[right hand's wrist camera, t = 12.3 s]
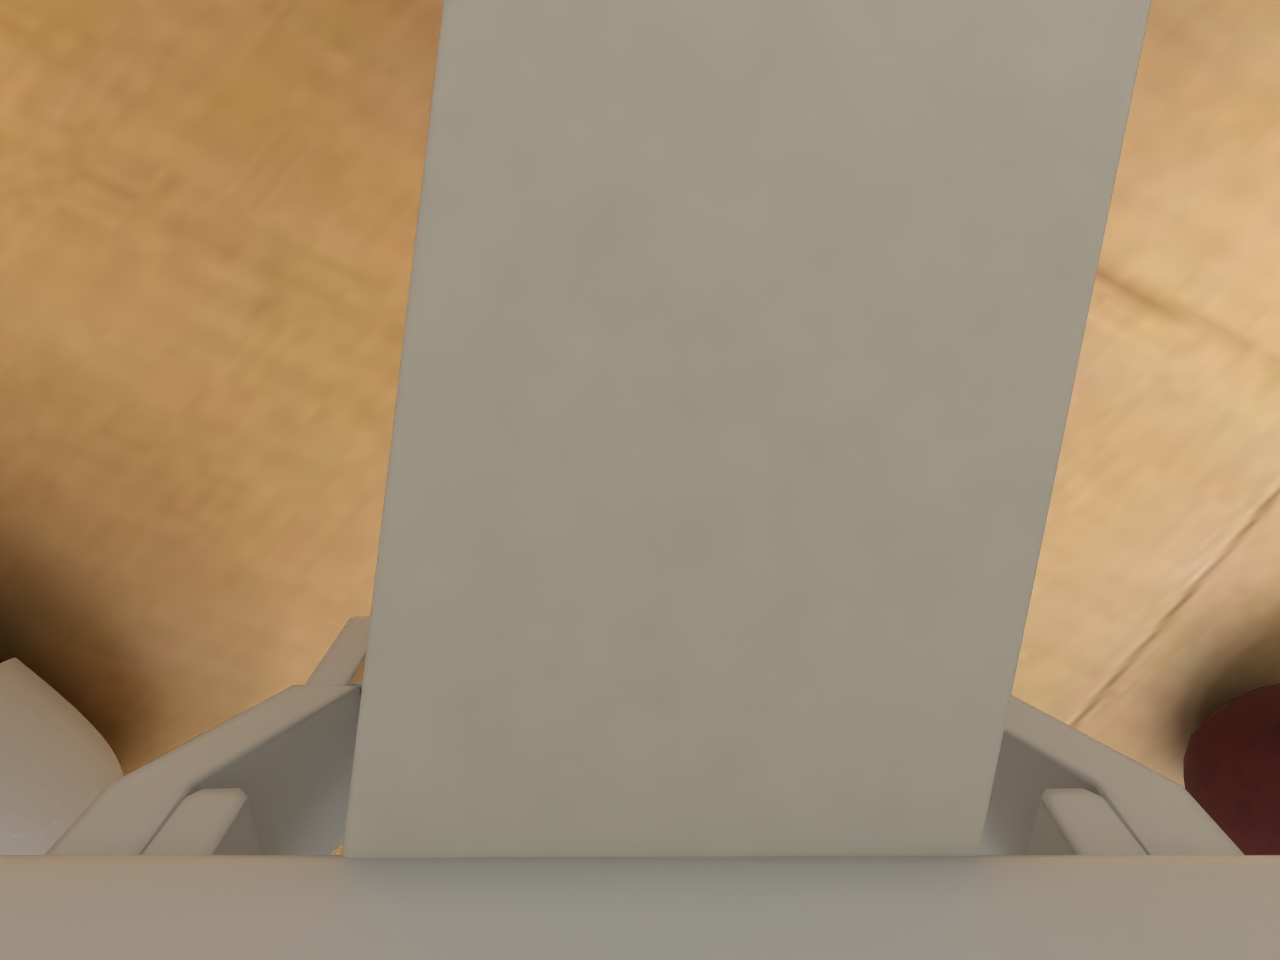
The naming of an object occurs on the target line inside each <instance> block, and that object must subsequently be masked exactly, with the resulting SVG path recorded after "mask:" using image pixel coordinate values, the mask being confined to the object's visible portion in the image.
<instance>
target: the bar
mask: <svg viewBox="0 0 1280 960" xmlns="http://www.w3.org/2000/svg"><path fill="white" fill-rule="evenodd" d="M1150 4H1151V0H444V2H443V10H442V18H441V27H440V35H439V44H438V52H437V61H436V69H435V77H434V86H433V94H432V103H431V111H430V120H429V128H428V136H427V145H426V153H425V162H424V170H423V179H422V187H421V195H420V204H419V212H418V221H417V229H416V238H415V246H414V254H413V263H412V271H411V280H410V288H409V297H408V305H407V313H406V322H405V330H404V339H403V347H402V356H401V364H400V372H399V381H398V389H397V398H396V406H395V414H394V423H393V431H392V440H391V448H390V457H389V465H388V473H387V482H386V490H385V499H384V507H383V516H382V524H381V532H380V541H379V549H378V558H377V566H376V575H375V583H374V591H373V600H372V608H371V617H370V625H369V634H368V642H367V650H366V659H365V667H364V676H363V684H362V693H361V701H360V709H359V718H358V726H357V735H356V743H355V752H354V760H353V768H352V777H351V785H350V794H349V802H348V811H347V819H346V827H345V836H344V844H343V853H342V856H343V857H344V858H498V857H889V856H978V855H979V850H980V846H981V841H982V836H983V831H984V826H985V821H986V816H987V811H988V806H989V801H990V796H991V791H992V786H993V781H994V776H995V771H996V766H997V761H998V756H999V752H1000V747H1001V742H1002V737H1003V732H1004V727H1005V722H1006V717H1007V712H1008V707H1009V702H1010V697H1011V692H1012V687H1013V682H1014V677H1015V672H1016V667H1017V662H1018V657H1019V653H1020V648H1021V643H1022V638H1023V633H1024V628H1025V623H1026V618H1027V613H1028V608H1029V603H1030V598H1031V593H1032V588H1033V583H1034V578H1035V573H1036V568H1037V563H1038V558H1039V554H1040V549H1041V544H1042V539H1043V534H1044V529H1045V524H1046V519H1047V514H1048V509H1049V504H1050V499H1051V494H1052V489H1053V484H1054V479H1055V474H1056V469H1057V464H1058V459H1059V455H1060V450H1061V445H1062V440H1063V435H1064V430H1065V425H1066V420H1067V415H1068V410H1069V405H1070V400H1071V395H1072V390H1073V385H1074V380H1075V375H1076V370H1077V365H1078V360H1079V356H1080V351H1081V346H1082V341H1083V336H1084V331H1085V326H1086V321H1087V316H1088V311H1089V306H1090V301H1091V296H1092V291H1093V286H1094V281H1095V276H1096V271H1097V266H1098V261H1099V257H1100V252H1101V247H1102V242H1103V237H1104V232H1105V227H1106V222H1107V217H1108V212H1109V207H1110V202H1111V197H1112V192H1113V187H1114V182H1115V177H1116V172H1117V167H1118V163H1119V158H1120V153H1121V148H1122V143H1123V138H1124V133H1125V128H1126V123H1127V118H1128V113H1129V108H1130V103H1131V98H1132V93H1133V88H1134V83H1135V78H1136V73H1137V68H1138V64H1139V59H1140V54H1141V49H1142V44H1143V39H1144V34H1145V29H1146V24H1147V19H1148V14H1149V9H1150Z"/></svg>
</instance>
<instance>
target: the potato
mask: <svg viewBox="0 0 1280 960" xmlns="http://www.w3.org/2000/svg"><path fill="white" fill-rule="evenodd" d="M1184 782H1185V789H1186V791H1187V792H1188V793H1189V794H1190V795H1191V796H1192V797H1193V798H1194V799H1195V800H1196V802H1197V803H1198V804H1199V805H1200V806H1201V807H1202V808H1203V809H1204V810H1205V812H1206V813H1207V814H1208V815H1209V816H1210V817H1211V818H1212V819H1213V820H1214V822H1215V823H1216V824H1217V825H1218V826H1219V827H1220V828H1221V829H1222V830H1223V831H1224V833H1225V834H1226V835H1227V836H1228V837H1229V838H1230V839H1231V840H1232V841H1233V843H1234V844H1235V845H1236V846H1237V847H1238V848H1239V849H1240V850H1241V851H1242V853H1243V854H1244V855H1280V684H1277V685H1272V686H1267V687H1262V688H1258V689H1256V690H1253V691H1250V692H1247V693H1245V694H1243V695H1241V696H1238V697H1236V698H1234V699H1232V700H1230V701H1228V702H1227V703H1225V704H1223V705H1221V706H1220V707H1218V708H1216V709H1215V710H1214V711H1213V712H1212V713H1211V714H1210V715H1209V716H1208V717H1207V718H1206V720H1205V721H1204V722H1203V723H1202V724H1201V725H1200V726H1199V727H1198V728H1197V730H1196V731H1195V732H1194V733H1193V734H1192V735H1191V738H1190V741H1189V744H1188V747H1187V750H1186V753H1185V756H1184Z"/></svg>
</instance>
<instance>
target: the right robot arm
mask: <svg viewBox="0 0 1280 960" xmlns="http://www.w3.org/2000/svg"><path fill="white" fill-rule="evenodd" d="M370 617H371V616H357V617H354V618H351V619H350V620H349V621H348V622H347V623H346V625H345V626H344V628H343V629H342V631H341V632H340V634H339V635H338V637H337V638H336V640H335V641H334V643H333V644H332V646H331V647H330V648H329V650H328V651H327V653H326V654H325V656H324V657H323V659H322V660H321V662H320V663H319V665H318V666H317V668H316V669H315V671H314V672H313V674H312V675H311V676H310V678H309V679H308V681H307V682H306V684H305V685H293V686H291V687H289V688H287V689H286V690H284V691H282V692H280V693H278V694H276V695H274V696H272V697H271V698H269V699H267V700H265V701H263V702H261V703H259V704H258V705H256V706H254V707H252V708H250V709H248V710H246V711H244V712H243V713H241V714H239V715H237V716H235V717H233V718H231V719H230V720H228V721H226V722H224V723H222V724H220V725H218V726H216V727H215V728H213V729H211V730H209V731H207V732H205V733H203V734H202V735H200V736H198V737H196V738H194V739H192V740H190V741H188V742H187V743H185V744H183V745H181V746H179V747H177V748H175V749H174V750H172V751H170V752H168V753H166V754H164V755H162V756H160V757H159V758H157V759H155V760H153V761H151V762H149V763H147V764H146V765H144V766H142V767H140V768H138V769H136V770H134V771H132V772H131V773H129V774H127V775H125V776H123V777H121V778H119V779H118V780H116V781H114V782H112V783H110V784H108V785H107V786H106V787H105V788H104V789H103V790H102V791H101V792H100V793H99V794H98V796H97V797H96V798H95V799H94V800H93V801H92V802H91V803H90V805H89V806H88V807H87V808H86V809H85V810H84V811H83V812H82V813H81V815H80V816H79V817H78V818H77V819H76V820H75V821H74V822H73V823H72V825H71V826H70V827H69V828H68V829H67V830H66V831H65V832H64V834H63V835H62V836H61V837H60V838H59V839H58V840H57V841H56V842H55V844H54V845H53V846H52V847H51V848H50V849H49V850H48V851H47V853H46V854H45V855H0V960H1280V855H1244V854H1243V853H1242V851H1241V850H1240V849H1239V848H1238V847H1237V846H1236V845H1235V844H1234V843H1233V841H1232V840H1231V839H1230V838H1229V837H1228V836H1227V835H1226V834H1225V833H1224V831H1223V830H1222V829H1221V828H1220V827H1219V826H1218V825H1217V824H1216V823H1215V822H1214V820H1213V819H1212V818H1211V817H1210V816H1209V815H1208V814H1207V813H1206V812H1205V810H1204V809H1203V808H1202V807H1201V806H1200V805H1199V804H1198V803H1197V802H1196V800H1195V799H1194V798H1193V797H1192V796H1191V795H1190V794H1189V793H1188V792H1187V791H1186V789H1185V788H1184V787H1183V786H1181V785H1179V784H1177V783H1175V782H1174V781H1172V780H1170V779H1168V778H1166V777H1164V776H1162V775H1160V774H1159V773H1157V772H1155V771H1153V770H1151V769H1149V768H1147V767H1145V766H1144V765H1142V764H1140V763H1138V762H1136V761H1134V760H1132V759H1130V758H1129V757H1127V756H1125V755H1123V754H1121V753H1119V752H1117V751H1115V750H1114V749H1112V748H1110V747H1108V746H1106V745H1104V744H1102V743H1100V742H1099V741H1097V740H1095V739H1093V738H1091V737H1089V736H1087V735H1085V734H1084V733H1082V732H1080V731H1078V730H1076V729H1074V728H1072V727H1070V726H1069V725H1067V724H1065V723H1063V722H1061V721H1059V720H1057V719H1055V718H1054V717H1052V716H1050V715H1048V714H1046V713H1044V712H1042V711H1040V710H1039V709H1037V708H1035V707H1033V706H1031V705H1029V704H1027V703H1025V702H1024V701H1022V700H1020V699H1018V698H1016V697H1014V696H1012V695H1011V697H1010V702H1009V707H1008V712H1007V717H1006V722H1005V727H1004V732H1003V737H1002V742H1001V747H1000V752H999V756H998V761H997V766H996V771H995V776H994V781H993V786H992V791H991V796H990V801H989V806H988V811H987V816H986V821H985V826H984V831H983V836H982V841H981V846H980V850H979V855H978V856H889V857H498V858H344V857H343V856H342V855H330V854H332V853H333V852H334V851H335V850H336V849H337V848H338V847H339V846H340V845H341V844H342V843H343V842H344V836H345V827H346V819H347V811H348V802H349V794H350V785H351V777H352V768H353V760H354V752H355V743H356V735H357V726H358V718H359V709H360V701H361V693H362V684H363V676H364V667H365V659H366V650H367V642H368V634H369V625H370Z"/></svg>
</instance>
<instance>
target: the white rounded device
mask: <svg viewBox="0 0 1280 960" xmlns="http://www.w3.org/2000/svg"><path fill="white" fill-rule="evenodd" d="M123 776H124V775H123V771H122V768H121V766H120V763H119V761H118V759H117V757H116V755H115V754H114V752H113V750H112V749H111V747H110V746H109V744H108V743H107V742H106V740H105V739H104V738H103V736H102V735H101V734H100V733H99V732H98V731H97V730H96V728H95V727H94V726H93V725H92V724H91V723H90V722H89V721H88V720H87V719H86V718H85V717H84V716H83V715H82V714H81V713H80V712H79V711H78V710H77V709H76V708H75V707H74V706H72V705H71V704H70V703H69V702H68V701H67V700H66V699H65V698H63V697H62V696H61V695H60V694H59V693H58V692H57V691H56V690H54V689H53V688H52V687H51V686H50V685H49V684H47V683H46V682H45V681H44V680H43V679H41V678H40V677H39V676H38V675H37V674H35V673H34V672H33V671H32V670H30V669H29V668H28V667H27V666H26V665H24V664H23V663H22V662H21V661H19V660H18V659H17V658H11V659H9V660H6V661H4V662H2V663H0V855H45V854H46V853H47V851H48V850H49V849H50V848H51V847H52V846H53V845H54V844H55V842H56V841H57V840H58V839H59V838H60V837H61V836H62V835H63V834H64V832H65V831H66V830H67V829H68V828H69V827H70V826H71V825H72V823H73V822H74V821H75V820H76V819H77V818H78V817H79V816H80V815H81V813H82V812H83V811H84V810H85V809H86V808H87V807H88V806H89V805H90V803H91V802H92V801H93V800H94V799H95V798H96V797H97V796H98V794H99V793H100V792H101V791H102V790H103V789H104V788H105V787H106V786H107V785H108V784H110V783H112V782H114V781H116V780H118V779H119V778H121V777H123Z"/></svg>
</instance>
